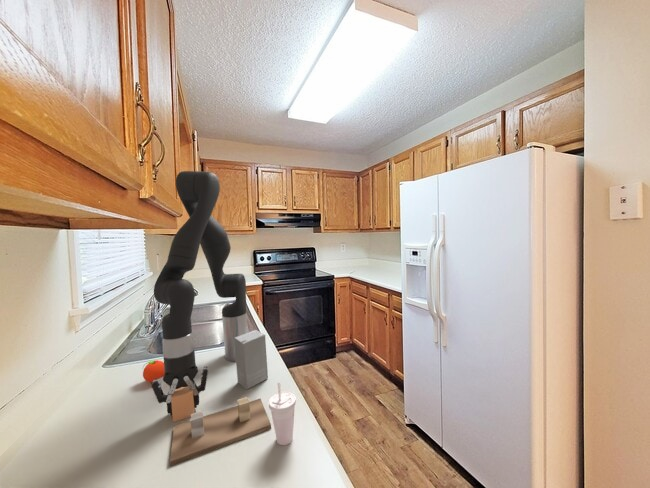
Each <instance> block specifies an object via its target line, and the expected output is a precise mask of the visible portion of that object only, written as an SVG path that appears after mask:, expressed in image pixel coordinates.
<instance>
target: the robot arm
mask: <svg viewBox="0 0 650 488" xmlns="http://www.w3.org/2000/svg"><path fill="white" fill-rule="evenodd" d="M175 178H176V179H175V189H176V192H177V195H178V197H179V199H180V201H181V203H182V205H183V207H184V209H185V211H186V213H187V215H188V217H189V218H188V219H187V220H186V221H185V222H184V224H183V225H182V226H181V227H180V228H179V229H178V231H177V232H176V233H175V235H174V237H173V239H172V242H171V245H170V247H169V248H170V249H169V252H168V256H167V261H166V262H165V264H164V266H163V267H162V268H161V271H160V273H159V275H158V277H157V278H156V281H155V284H154V286H153V296H154V299H155V301H156V302H158V303H159V304H163V305H169V306H170V307H169V313H167V314H165V315H164V316H163V318H162V319H161V329H162V355H163V356H162V357H163V362H164V369H165V374H164V376H163V377H162V378H159V379H157V378H156V379H154V380H153V383H151V387H152V391H153V392H154V395H155V398H156V400H157V402H158V404H162V403H166V410H167V414H168V415H169V414H170V416H172V404H171V395H173V394H174V391H175V390H176V389H179V388H181V387H187V386H188V387H189V388H190V390H192V389H193V397H194V408H195V409H196V408H197V407H198V406H199V404H200V393H201V392H204V391H205V390H206V386H207V379H208V374H209V369H208V368H209V367H208V366H207V365H206V366H205V365H204V366H203V367H200V368H199V367H198V366H197V364H196V353H195V341H194V336H193V329H192V319H191V318H192V313H193V307H194V303H195V299H196V298H195V297H196V291H195V288H194V285H193V283H191V282H190V281H189V280H187V279H184V276H185V274H186V273H187V272H190V271H192V270H194V267H195V265H196V263H197V258H198V254H199V248H201V249H202V252H203V255H204V258H205V259H206V261H207V265H208V267H209V271H210V274H211V278H212V282H213V285H214V289H215V292H216V294H217V296H218V297H220V298H222V299H225V298H226V299H228V298H235V301H234V302H233V303H230V304H228V305H225V306H224V307H222V309H221V316H222V317H221V318H222V330H223V342H224V343H223V344H224V357H225V360H226V361H229V362H236V354H235V341H234V338H235V337H238V336H240V335H243V334H246V333H248V332H249V331H248V329H249V328H248V326H249V325H248V314H247V285H246V284H247V283H246V276H245V275H244V274H243V273H225V272H224V266H225V263H226V262H227V260H228V258H229V255H230V253H231V243H230V240H229V236H228V233H227V231H226V230H225V228H224V227H223V226H222V225H221V224H220V222H219V221H217V219H216V218H214V217H213V215H212V213H213V211H214V209H215V206H216V204H217V201H218V198H219V195H220V190H221V189H220V188H221V185H220V181H219V178H218V176H217V175H216V174H215V173H214V172H210V171H199V170H195V171H194V170H192V171H191V170H184V171H180V172H178V173H177V175H176V177H175ZM197 374H199V377H200V384H199V385H197V383H196V380H195V377H196V376H197ZM163 383H165V384H166V385H168V386H169V388H168V392H167V394H164V390H163V389H162V386H163Z"/></svg>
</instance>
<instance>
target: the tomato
mask: <svg viewBox="0 0 650 488" xmlns="http://www.w3.org/2000/svg"><path fill="white" fill-rule="evenodd" d="M141 369H143V371H142V377H143V379H144V381H146V382H148V383H151V384H152V383H153V380H154V379H156V378H157V379H159V378H162V377H163V376H164V374H165V369H164V361H163V360H159V359H158V360H157V359H156V360H151V361H147V362H146V363H145V366H144V367H142V368H141Z"/></svg>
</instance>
